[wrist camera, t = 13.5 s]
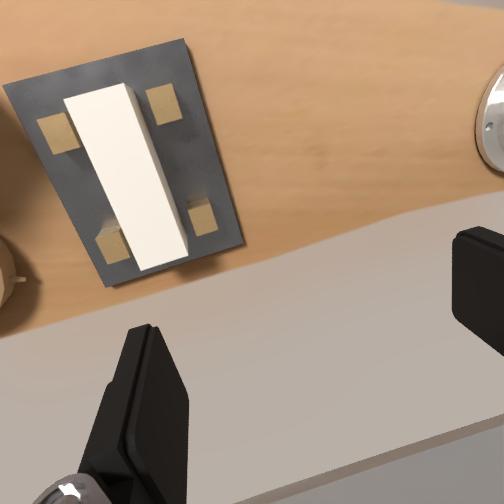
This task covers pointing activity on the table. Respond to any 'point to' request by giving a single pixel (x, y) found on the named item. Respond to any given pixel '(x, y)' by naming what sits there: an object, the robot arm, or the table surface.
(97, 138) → the white rectangular block
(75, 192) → the cradle jig
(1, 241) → the alarm clock
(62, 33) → the table surface
